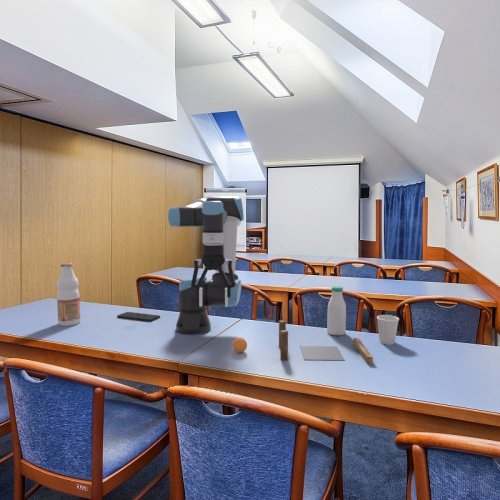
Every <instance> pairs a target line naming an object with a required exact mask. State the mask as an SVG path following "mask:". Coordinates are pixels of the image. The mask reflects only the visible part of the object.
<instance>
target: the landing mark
mask: <svg viewBox="0 0 500 500" xmlns="http://www.w3.org/2000/svg"><path fill="white" fill-rule="evenodd" d="M299 347H300V349H301V354H302V357H303V361H341V362H342V361H344V362H345V361H346V360H345V358H344V356H343V355H342V352H341V351H340V349H339V347H338V346H336V345H334V346H333V345H300V346H299Z"/></svg>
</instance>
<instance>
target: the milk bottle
mask: <svg viewBox="0 0 500 500" xmlns="http://www.w3.org/2000/svg"><path fill="white" fill-rule="evenodd" d="M343 292H344V287H342V286H338V285H337V286H332V287H331V297H330V299H329V301H328V304H327V315H326V316H327V318H326V319H327V320H326V323H327V324H326V325H327V327H326V332H327V334H329V335H331V336H344V335H345V334H346V332H347V331H346V329H347V328H346V327H347V306H346V305H347V304H346V301H345V300H344V297H343V294H344V293H343Z"/></svg>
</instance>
